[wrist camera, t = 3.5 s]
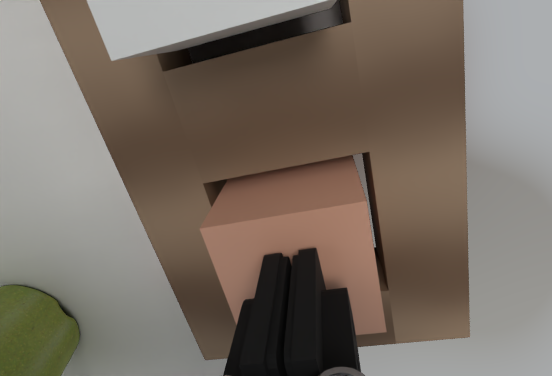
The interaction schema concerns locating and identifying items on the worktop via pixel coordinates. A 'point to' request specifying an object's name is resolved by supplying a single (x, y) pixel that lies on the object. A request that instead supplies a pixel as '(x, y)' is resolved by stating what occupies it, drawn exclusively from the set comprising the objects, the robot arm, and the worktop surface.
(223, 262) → the terracotta key
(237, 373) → the robot arm
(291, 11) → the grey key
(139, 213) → the brown rectangular frame
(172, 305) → the worktop surface
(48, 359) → the plant pot
